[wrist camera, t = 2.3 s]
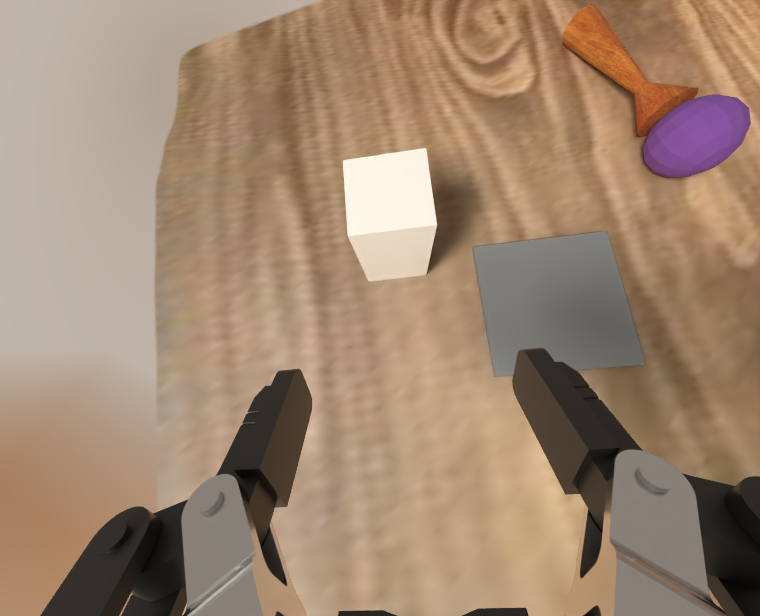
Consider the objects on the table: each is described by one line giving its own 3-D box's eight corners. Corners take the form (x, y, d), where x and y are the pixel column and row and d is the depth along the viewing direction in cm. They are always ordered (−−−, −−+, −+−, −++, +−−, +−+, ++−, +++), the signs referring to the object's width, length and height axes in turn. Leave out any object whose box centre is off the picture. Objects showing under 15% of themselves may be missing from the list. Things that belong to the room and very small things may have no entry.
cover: (364, 229, 28) (342, 160, 18) (419, 222, 27) (425, 148, 18) (368, 281, 26) (347, 236, 17) (426, 274, 26) (437, 224, 17)
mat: (472, 248, 26) (473, 246, 26) (604, 232, 25) (607, 230, 25) (494, 376, 23) (495, 376, 23) (641, 364, 22) (645, 364, 22)
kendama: (627, -19, 26) (794, 121, 20) (580, 56, 32) (701, 183, 26) (576, -12, 25) (737, 137, 19) (538, 64, 31) (652, 198, 25)
